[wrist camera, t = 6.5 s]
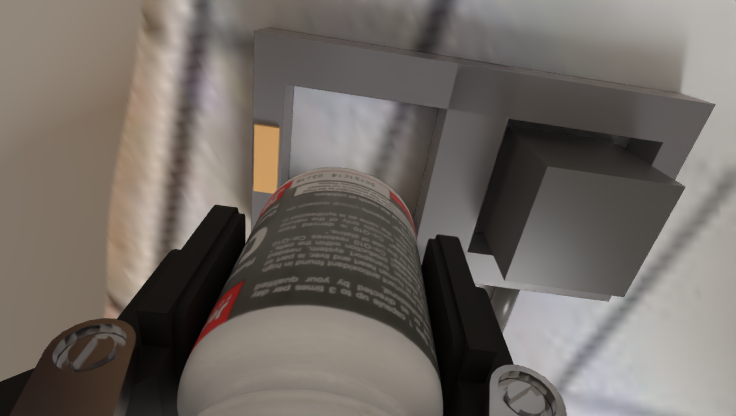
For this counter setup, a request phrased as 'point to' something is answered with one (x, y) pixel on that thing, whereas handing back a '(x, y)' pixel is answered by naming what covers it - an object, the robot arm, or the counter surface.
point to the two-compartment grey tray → (502, 159)
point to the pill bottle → (320, 311)
